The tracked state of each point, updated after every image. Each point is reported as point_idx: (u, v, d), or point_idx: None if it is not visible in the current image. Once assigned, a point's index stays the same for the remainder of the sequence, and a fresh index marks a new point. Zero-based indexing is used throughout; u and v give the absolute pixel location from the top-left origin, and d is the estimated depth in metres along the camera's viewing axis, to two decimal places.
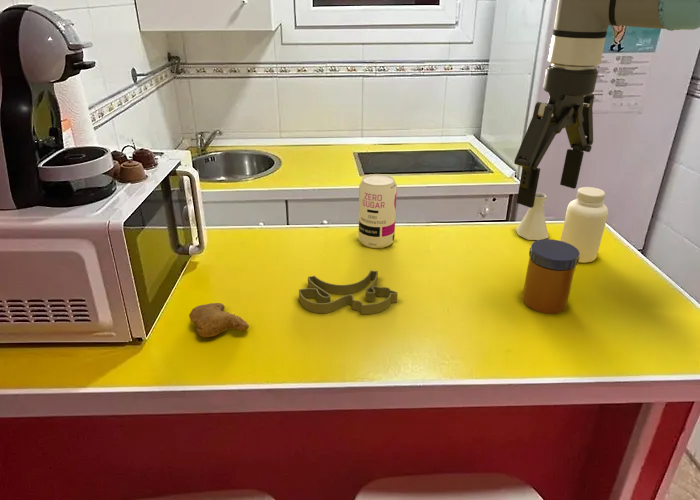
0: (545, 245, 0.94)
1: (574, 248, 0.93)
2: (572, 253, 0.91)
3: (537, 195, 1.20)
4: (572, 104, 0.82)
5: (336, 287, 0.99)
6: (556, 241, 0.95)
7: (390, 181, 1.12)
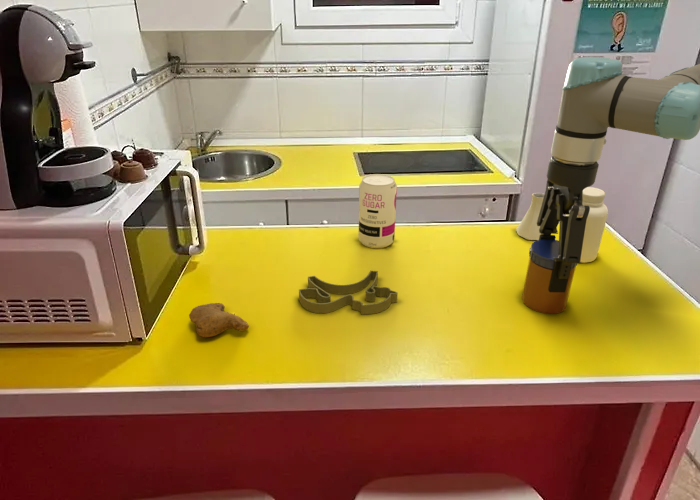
0: (545, 245, 0.94)
1: None
2: None
3: (537, 195, 1.20)
4: (562, 187, 0.87)
5: (336, 287, 0.99)
6: (556, 241, 0.95)
7: (390, 181, 1.12)
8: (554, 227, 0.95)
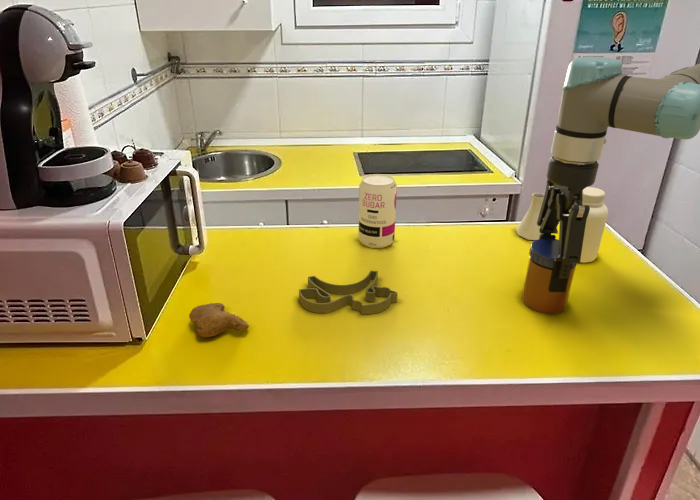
0: (556, 253, 0.91)
1: (536, 241, 0.95)
2: (547, 241, 0.95)
3: (537, 195, 1.20)
4: (562, 187, 0.87)
5: (336, 287, 0.99)
6: (538, 250, 0.92)
7: (390, 181, 1.12)
8: (554, 227, 0.95)
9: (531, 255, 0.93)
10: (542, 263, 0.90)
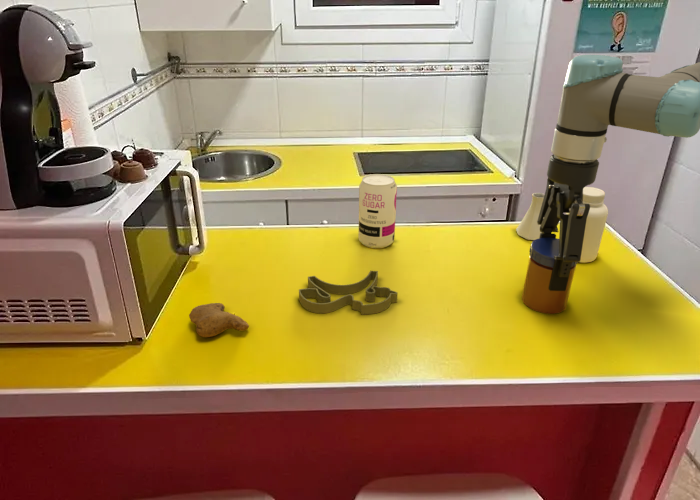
0: None
1: None
2: (547, 253, 0.90)
3: (537, 195, 1.20)
4: (563, 185, 0.86)
5: (336, 287, 0.99)
6: None
7: (390, 181, 1.12)
8: (554, 225, 0.95)
9: (575, 263, 0.90)
10: None
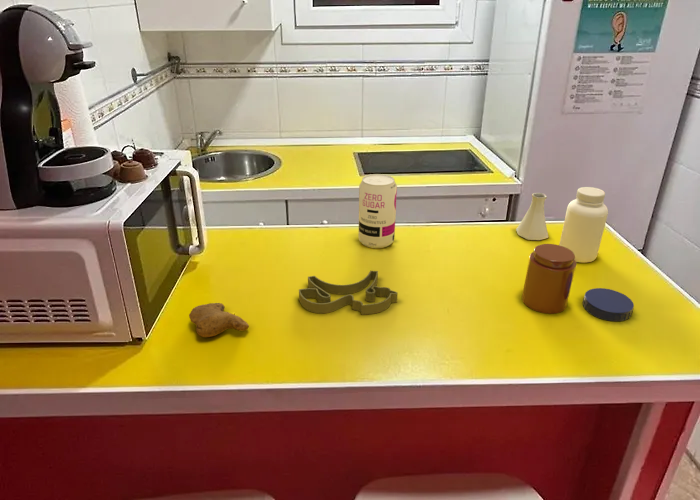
0: (601, 302, 0.94)
1: (603, 289, 0.98)
2: (615, 293, 0.97)
3: (537, 195, 1.20)
4: None
5: (336, 287, 0.99)
6: (590, 293, 0.97)
7: (390, 181, 1.12)
8: None
9: None
10: (583, 304, 0.96)
